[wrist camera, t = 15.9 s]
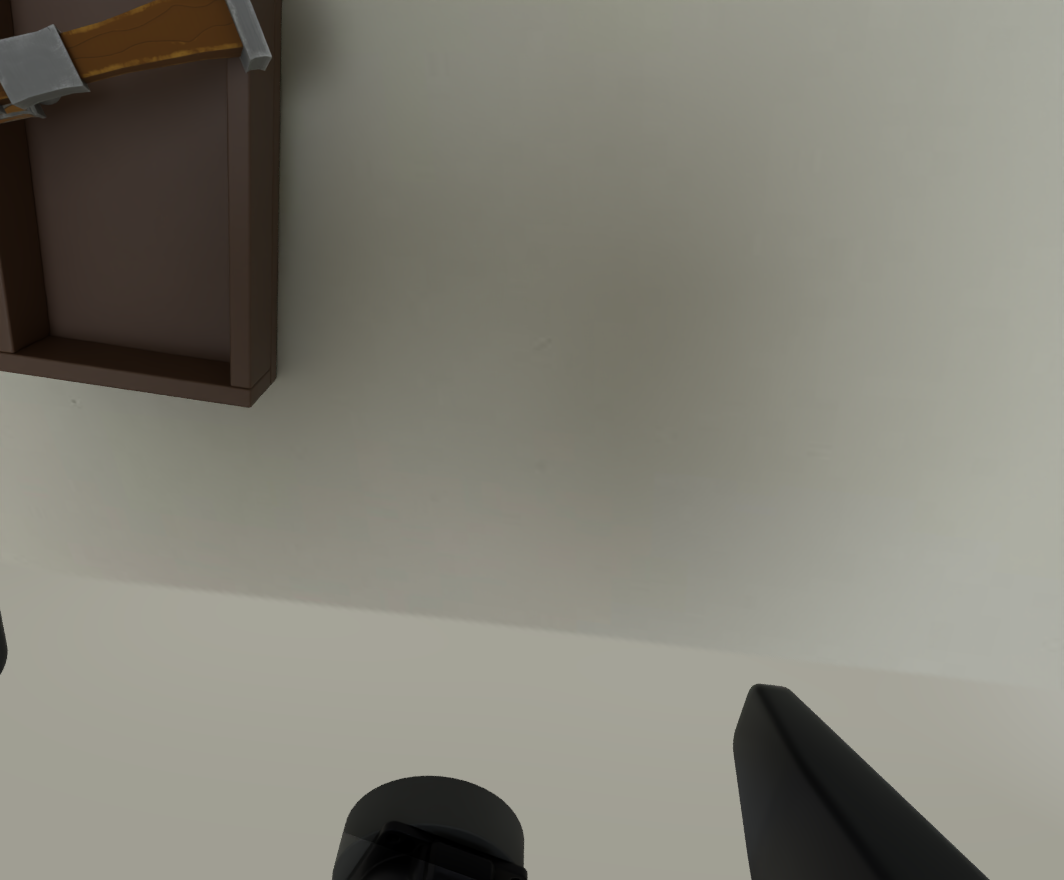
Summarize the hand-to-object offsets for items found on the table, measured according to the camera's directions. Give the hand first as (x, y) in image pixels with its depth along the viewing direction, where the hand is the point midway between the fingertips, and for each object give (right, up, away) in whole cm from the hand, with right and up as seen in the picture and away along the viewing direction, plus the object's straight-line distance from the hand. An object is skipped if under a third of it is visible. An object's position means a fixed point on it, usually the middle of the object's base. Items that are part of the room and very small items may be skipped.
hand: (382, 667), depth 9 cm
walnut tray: (-7, +11, +8) cm, 15 cm away
